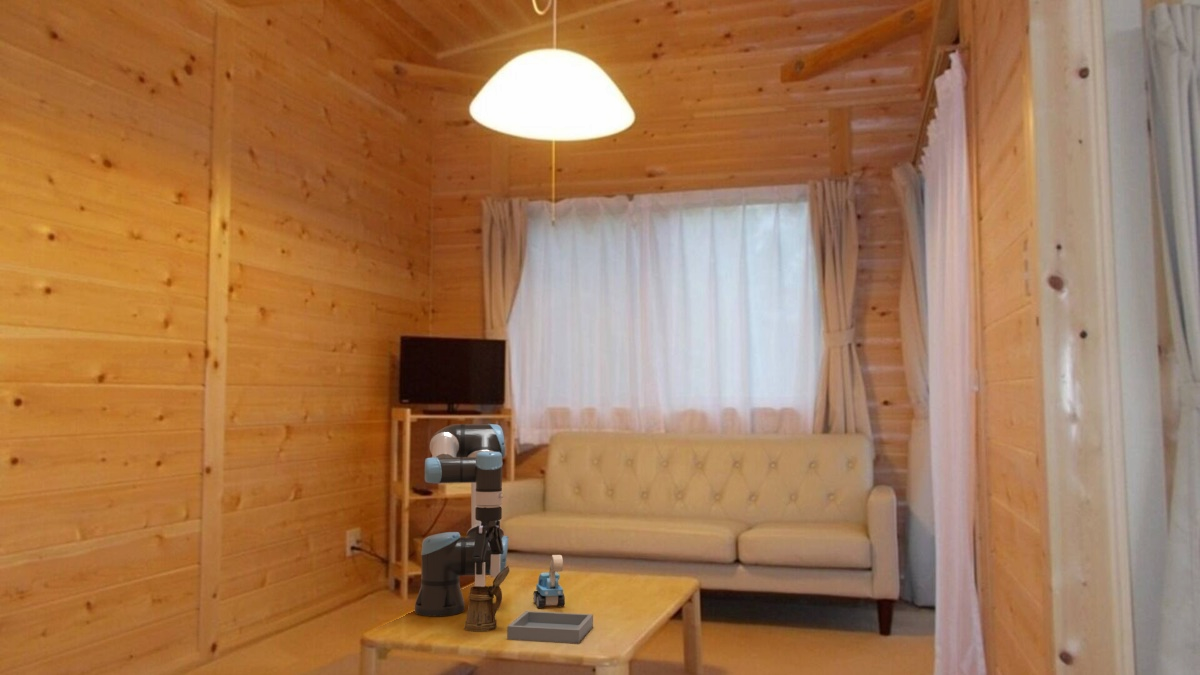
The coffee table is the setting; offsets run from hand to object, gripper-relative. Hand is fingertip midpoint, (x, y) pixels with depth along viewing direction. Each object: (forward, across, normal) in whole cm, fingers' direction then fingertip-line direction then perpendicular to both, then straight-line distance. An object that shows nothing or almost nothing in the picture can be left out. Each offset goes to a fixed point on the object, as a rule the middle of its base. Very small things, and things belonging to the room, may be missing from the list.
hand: (487, 581), depth 254 cm
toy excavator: (+13, +30, -11) cm, 34 cm away
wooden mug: (+13, 0, 0) cm, 13 cm away
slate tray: (+13, 0, -19) cm, 23 cm away
